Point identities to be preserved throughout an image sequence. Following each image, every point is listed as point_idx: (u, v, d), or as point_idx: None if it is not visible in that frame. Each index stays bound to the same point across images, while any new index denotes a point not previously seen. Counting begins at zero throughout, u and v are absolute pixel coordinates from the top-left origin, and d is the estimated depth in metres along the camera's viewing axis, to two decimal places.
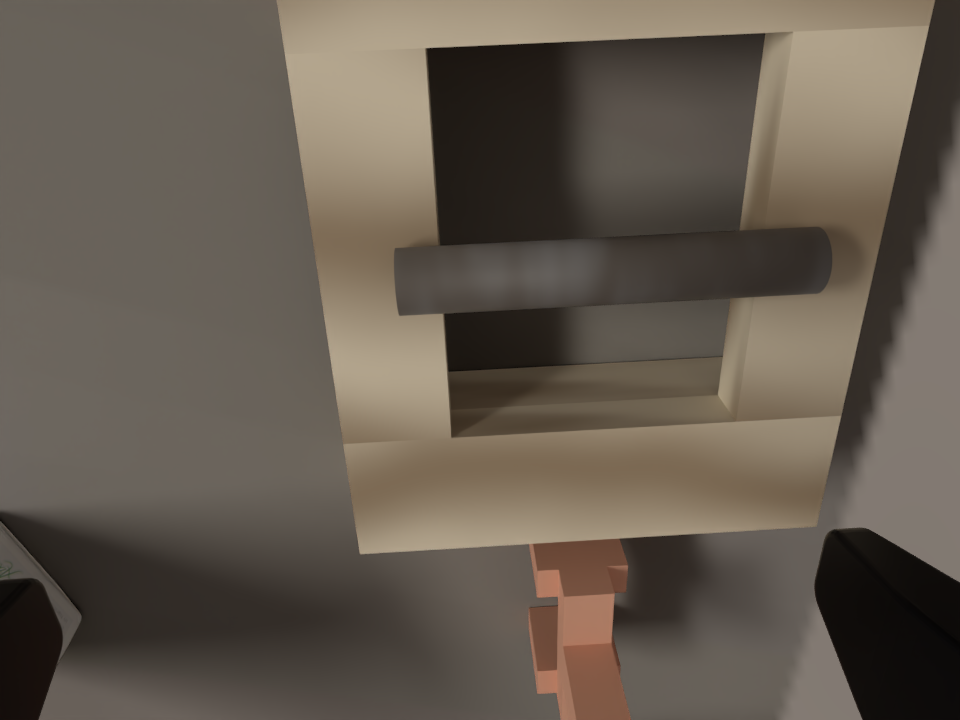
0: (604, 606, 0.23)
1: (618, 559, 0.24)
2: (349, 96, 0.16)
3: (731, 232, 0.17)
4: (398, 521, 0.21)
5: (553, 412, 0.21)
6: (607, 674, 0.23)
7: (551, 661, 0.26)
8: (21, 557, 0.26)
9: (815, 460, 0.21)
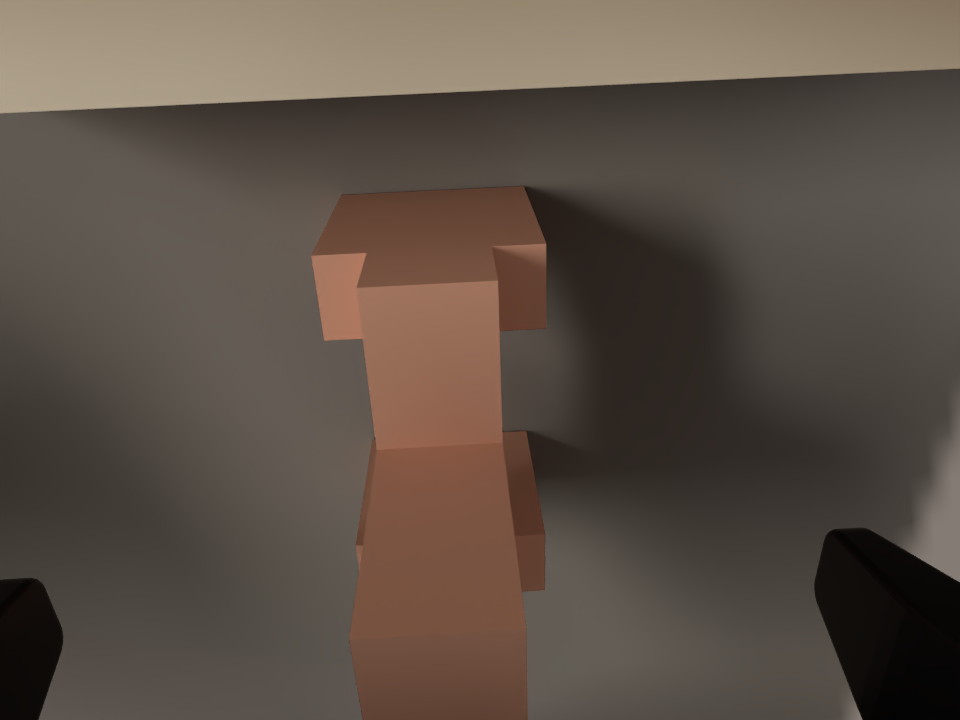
0: (473, 324, 0.08)
1: (525, 238, 0.10)
2: None
3: None
4: None
5: None
6: (477, 504, 0.08)
7: None
8: None
9: None
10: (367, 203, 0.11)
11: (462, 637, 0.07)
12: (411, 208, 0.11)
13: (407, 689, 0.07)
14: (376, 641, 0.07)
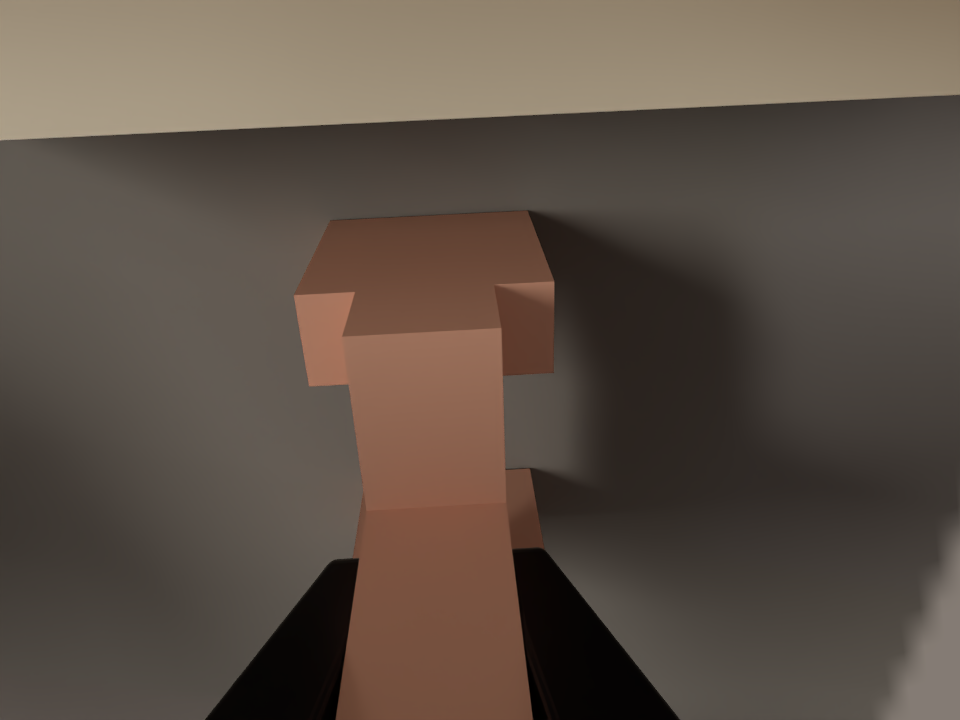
0: (474, 375, 0.08)
1: (531, 273, 0.09)
2: None
3: None
4: None
5: None
6: (478, 580, 0.07)
7: None
8: None
9: None
10: (358, 230, 0.10)
11: None
12: (405, 237, 0.10)
13: None
14: None
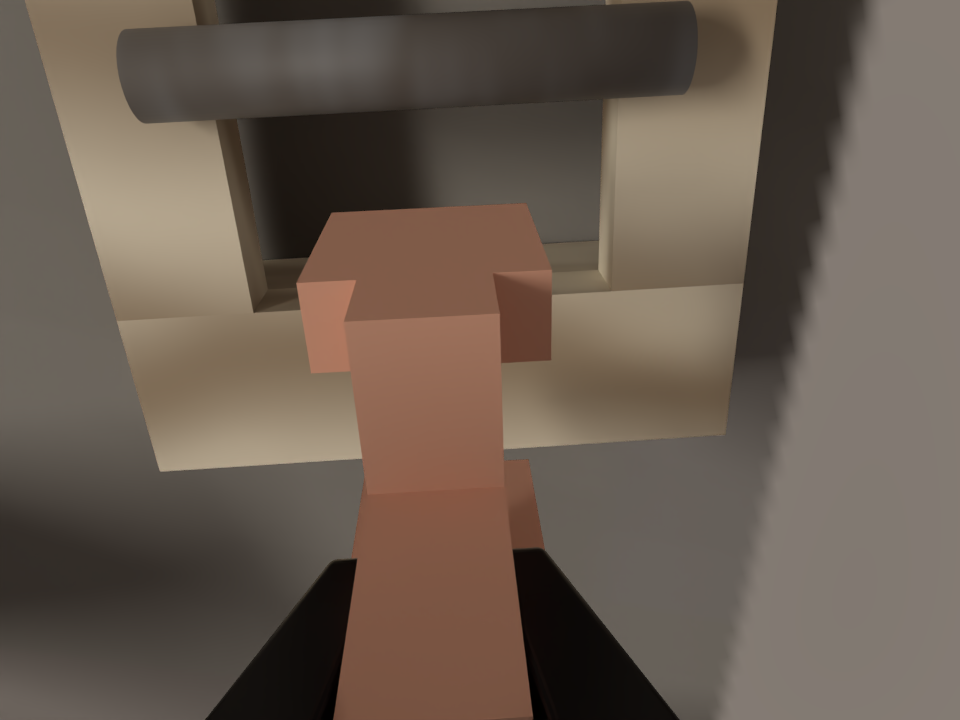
0: (473, 360, 0.08)
1: (529, 263, 0.09)
2: None
3: (569, 7, 0.13)
4: (202, 427, 0.17)
5: None
6: (477, 560, 0.07)
7: None
8: None
9: (716, 344, 0.17)
10: (359, 222, 0.11)
11: None
12: (406, 228, 0.10)
13: None
14: None
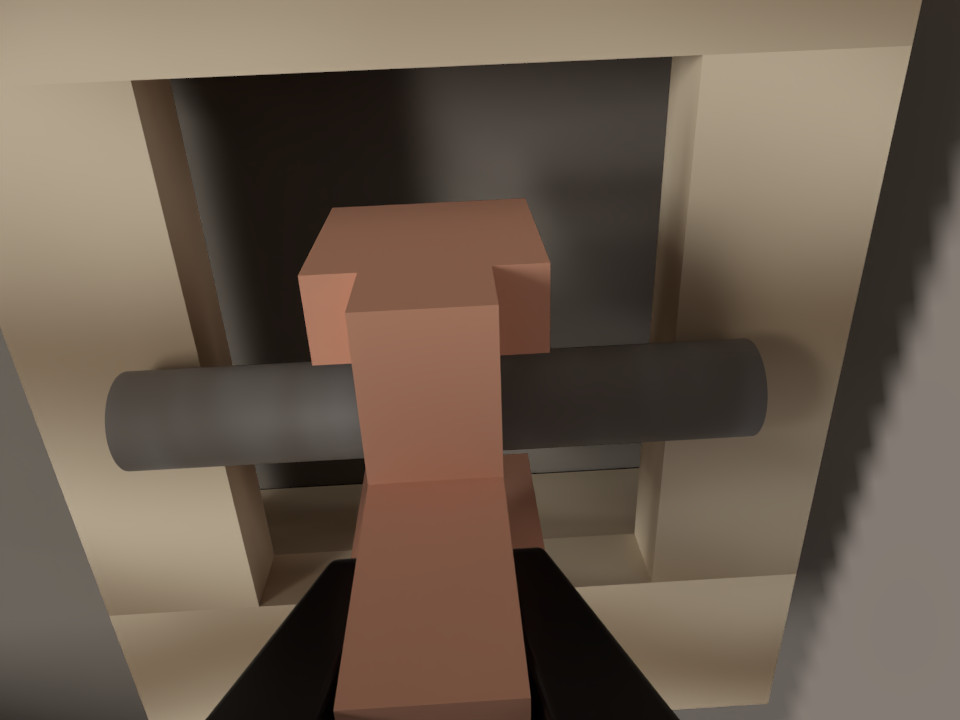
0: (472, 351, 0.08)
1: (528, 256, 0.09)
2: (25, 153, 0.10)
3: (620, 350, 0.11)
4: (203, 705, 0.16)
5: None
6: (476, 548, 0.07)
7: None
8: None
9: (763, 627, 0.16)
10: (359, 217, 0.11)
11: (459, 707, 0.06)
12: (406, 222, 0.10)
13: None
14: (363, 711, 0.06)
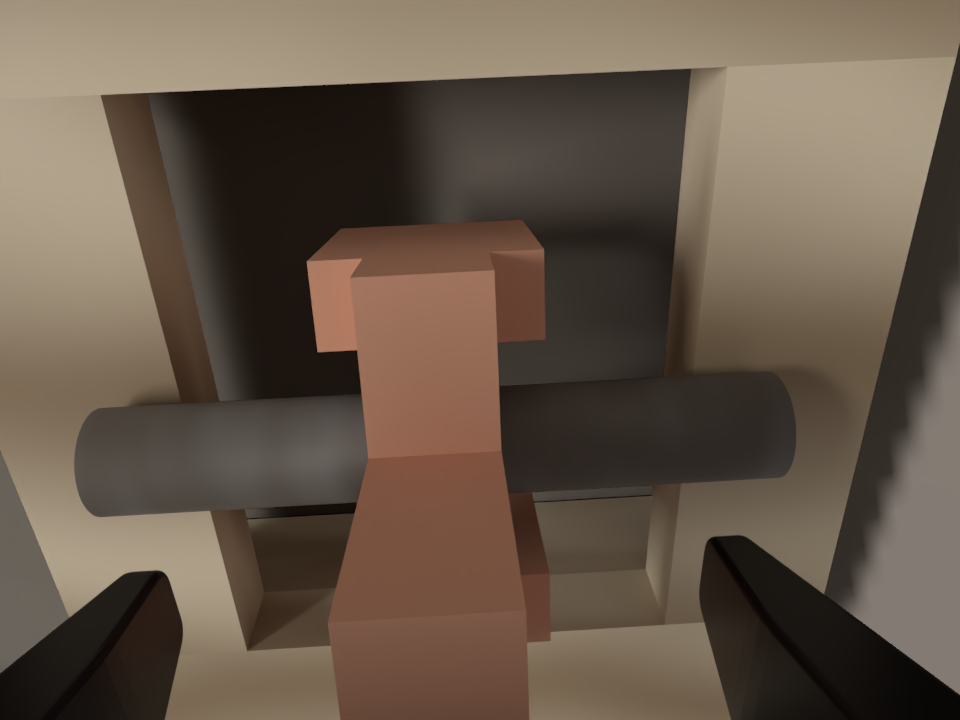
0: (470, 318, 0.08)
1: (522, 246, 0.09)
2: None
3: (635, 385, 0.11)
4: None
5: None
6: (473, 502, 0.08)
7: None
8: None
9: None
10: (366, 232, 0.11)
11: (454, 621, 0.06)
12: (409, 234, 0.11)
13: (392, 690, 0.06)
14: (358, 626, 0.06)
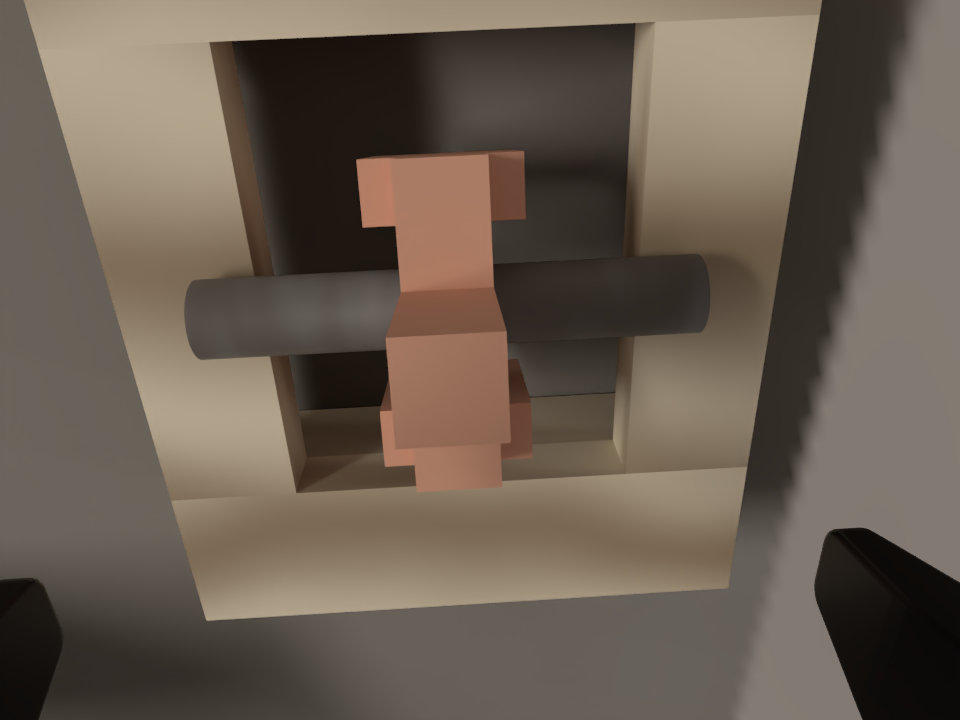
0: (471, 188, 0.12)
1: (509, 152, 0.13)
2: (124, 100, 0.13)
3: (594, 261, 0.14)
4: (246, 585, 0.19)
5: None
6: (474, 303, 0.11)
7: None
8: None
9: (721, 516, 0.18)
10: (393, 155, 0.15)
11: (462, 339, 0.10)
12: (426, 154, 0.15)
13: (425, 387, 0.10)
14: (403, 342, 0.10)
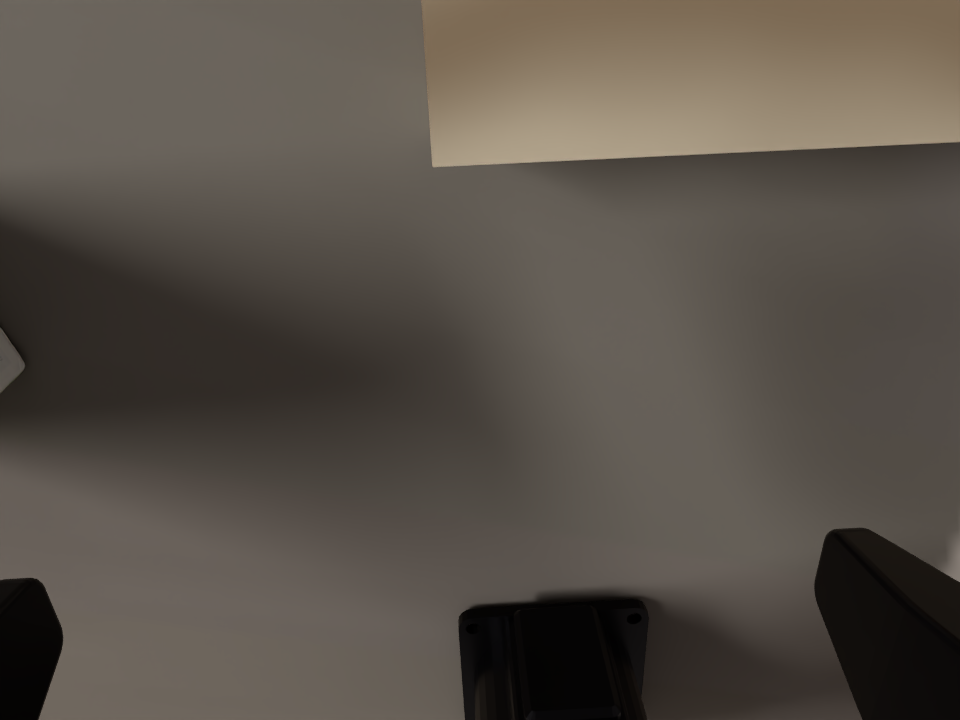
0: None
1: None
2: None
3: None
4: (495, 101, 0.14)
5: None
6: None
7: None
8: None
9: None
10: None
11: None
12: None
13: None
14: None
